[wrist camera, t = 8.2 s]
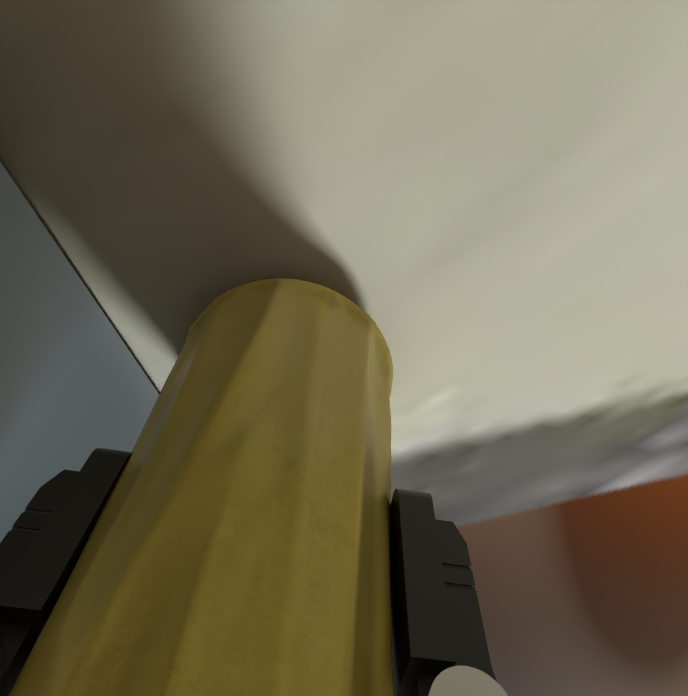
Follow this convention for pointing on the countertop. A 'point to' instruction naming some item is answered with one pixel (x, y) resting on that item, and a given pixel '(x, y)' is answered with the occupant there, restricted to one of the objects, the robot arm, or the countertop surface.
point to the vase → (243, 518)
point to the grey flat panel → (55, 364)
